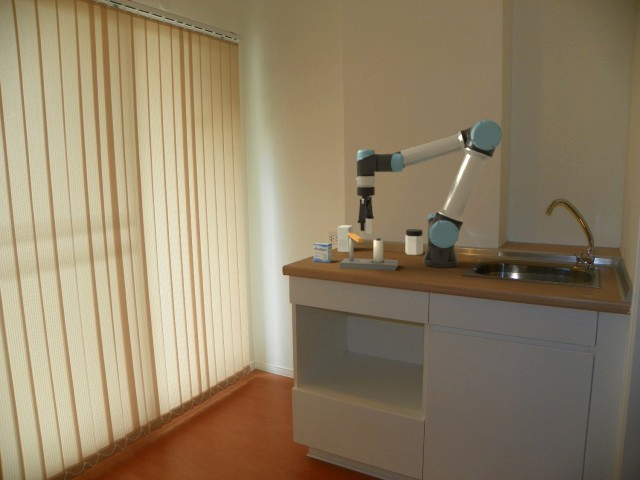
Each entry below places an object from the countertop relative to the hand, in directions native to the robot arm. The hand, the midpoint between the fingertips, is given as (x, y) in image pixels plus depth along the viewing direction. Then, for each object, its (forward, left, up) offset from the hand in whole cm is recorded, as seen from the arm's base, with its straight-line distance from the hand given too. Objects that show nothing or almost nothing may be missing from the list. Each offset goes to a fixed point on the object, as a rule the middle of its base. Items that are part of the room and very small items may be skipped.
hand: (366, 235), depth 212 cm
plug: (-5, -2, -14) cm, 15 cm away
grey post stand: (-1, -2, -15) cm, 15 cm away
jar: (-17, -40, -15) cm, 46 cm away
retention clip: (+4, +5, -1) cm, 6 cm away
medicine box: (+23, -12, -15) cm, 30 cm away
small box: (+19, -42, -15) cm, 48 cm away
